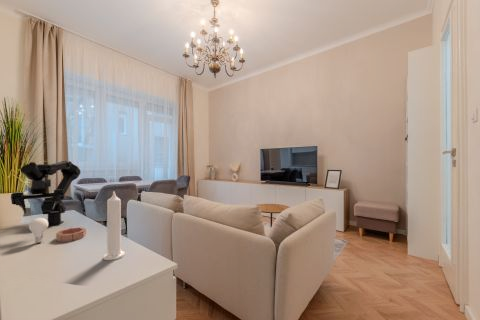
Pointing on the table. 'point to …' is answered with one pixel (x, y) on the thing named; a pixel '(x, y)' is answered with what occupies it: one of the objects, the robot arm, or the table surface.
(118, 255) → the candle
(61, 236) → the holder
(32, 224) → the lightbulb
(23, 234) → the table surface
